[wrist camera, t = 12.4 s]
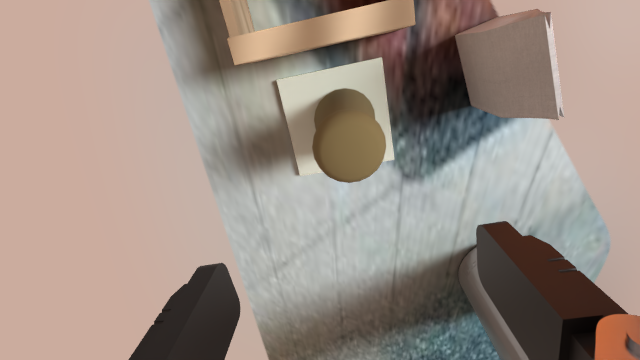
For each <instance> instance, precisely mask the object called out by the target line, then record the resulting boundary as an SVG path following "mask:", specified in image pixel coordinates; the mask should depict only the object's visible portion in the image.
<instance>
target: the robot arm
mask: <svg viewBox="0 0 640 360" xmlns="http://www.w3.org/2000/svg"><path fill="white" fill-rule="evenodd" d="M476 237H477V247H475V248H474V249H473V250H472V251H470V252H469V253H468V254H467V255H466V257H465V258H464V259H463V261H462V263H461V264H460V268H459V271H458V278H459V282H460V285H461V287H462V289H463V290H464V292H465V294H466V296H467V298H468V300H469V301H470V303H471V305H472V307H473V309H474V311H475V313H476V315H477V317H478V318H479V320H480V322H481V324H482V326H483V328H484V329H485V331H486V333H487V335H488V337H489V339H490V341H491V342H492V344H493V346H494V348H495V350H496V352H497V353H498V355H499V357H500V359H501V360H640V316H637V315H629V314H628V313H627V312H625V311H624V310H623V309H622V308H621V307H620V306H619V305H618V304H617V303H615V302H614V301H613V300H612V299H611V298H610V297H608V296H607V295H606V294H605V293H604V292H603V291H602V290H601V289H600V288H598V287H597V286H596V285H595V284H594V283H593V282H592V281H591V280H589V279H588V278H587V277H586V276H585V275H584V274H583V273H581V272H580V271H577V269H576V267H575V266H574V265H572V264H571V263H570V262H569V261H568V260H565V259H564V257H563V256H562V255H561V254H560V253H559V252H558V251H557V250H555V249H554V248H553V247H552V246H551V245H550V244H548V243H546V242H543V241H541V240H539V239H537V238H535V237H533V236H531V235H528V236H522V235H521V234H520V233H519V232H518V231H517V230H516V229H515V228H513V227H512V226H511V225H510V224H509V223H508V222H506V221H503V222H496V223H489V224H483V225H478V227H477V230H476ZM239 316H240V302H239V298H238V295H237V293H236V290H235V287H234V285H233V283H232V280H231V277H230V275H229V272H228V269H227V267H226V266H225V265H224V264H223V263H219V264H212V265H205V266H200V267H198V268H197V270H196V271H195V273H194V274H193V276H192V277H191V279H190V281H189V282H188V284H184V285H183V286H182V287H181V288H180V289H179V290H178V291H177V292H175V293H174V294H173V295H172V296H171V297H170V299H169V301H168V302H167V303H166V305H165V306H164V308H163V309H162V313H160V314H159V315H158V317H157V318H156V320H155V321H154V325H152V326H151V327H150V329H149V330H148V332H147V333H146V335H145V336H144V338H143V339H142V341H141V342H140V344H139V345H138V347H137V348H136V349H135V351H134V353H133V354H132V355H131V357H130V358H129V360H224V359H225V356H226V354H227V351H228V348H229V345H230V342H231V340H232V337H233V334H234V331H235V328H236V326H237V323H238V320H239Z"/></svg>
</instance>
